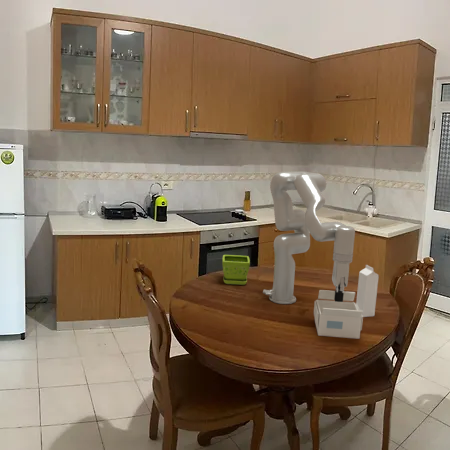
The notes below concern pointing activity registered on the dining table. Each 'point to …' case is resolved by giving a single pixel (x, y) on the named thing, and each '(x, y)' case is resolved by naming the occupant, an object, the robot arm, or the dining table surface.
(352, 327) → the carton
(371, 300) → the milk
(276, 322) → the dining table surface
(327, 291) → the flap far
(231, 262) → the flower pot
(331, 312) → the flap near
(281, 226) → the robot arm
